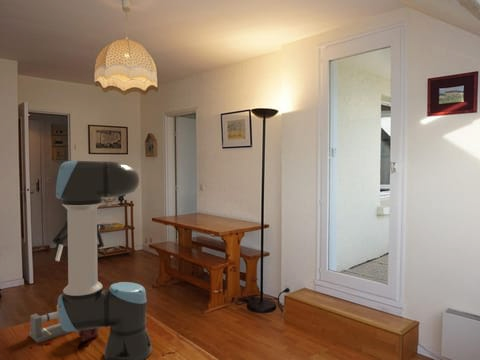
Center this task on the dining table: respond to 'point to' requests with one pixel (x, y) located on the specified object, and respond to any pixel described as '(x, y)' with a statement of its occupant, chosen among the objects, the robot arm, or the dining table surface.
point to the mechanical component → (88, 334)
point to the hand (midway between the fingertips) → (74, 262)
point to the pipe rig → (47, 332)
